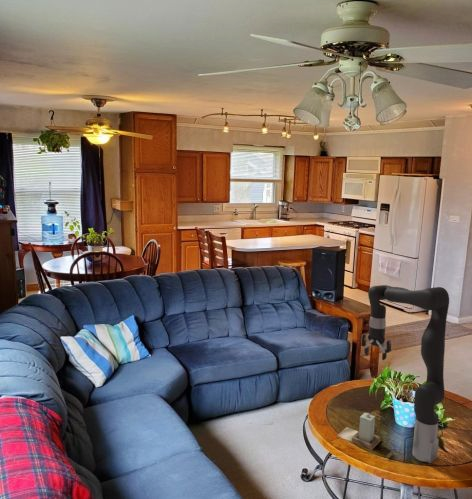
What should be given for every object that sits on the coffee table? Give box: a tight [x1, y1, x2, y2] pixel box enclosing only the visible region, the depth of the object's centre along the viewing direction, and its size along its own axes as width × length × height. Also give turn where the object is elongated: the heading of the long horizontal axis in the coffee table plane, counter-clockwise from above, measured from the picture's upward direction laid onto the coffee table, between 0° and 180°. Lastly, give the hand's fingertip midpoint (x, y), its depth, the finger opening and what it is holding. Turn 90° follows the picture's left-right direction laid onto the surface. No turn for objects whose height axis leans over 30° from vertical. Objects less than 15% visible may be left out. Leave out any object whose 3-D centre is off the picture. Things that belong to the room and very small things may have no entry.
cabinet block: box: [358, 412, 376, 443], centre depth 206 cm, size 5×5×13 cm
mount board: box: [337, 426, 381, 451], centre depth 209 cm, size 17×10×3 cm, turn 50°
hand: (375, 357), depth 223 cm, fingers open, 8 cm apart
